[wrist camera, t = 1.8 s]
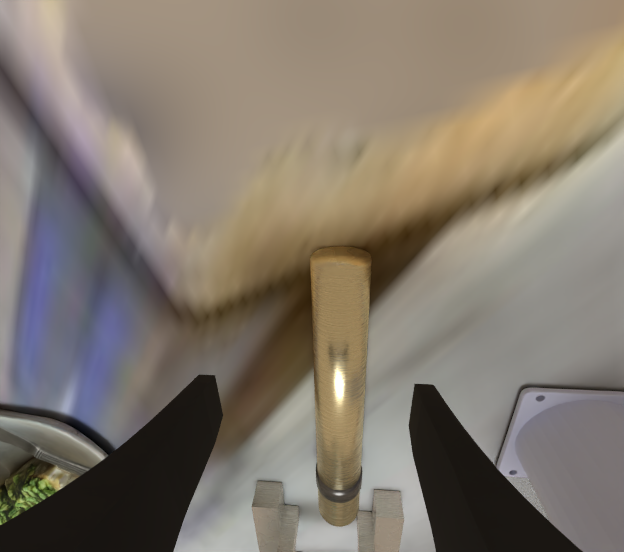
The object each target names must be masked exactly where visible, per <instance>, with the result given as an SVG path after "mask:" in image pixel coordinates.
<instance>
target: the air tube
mask: <svg viewBox="0 0 624 552" xmlns="http://www.w3.org/2000/svg"><path fill="white" fill-rule="evenodd" d="M371 261H372V257H371V255H370V254H369V253H368V252H366V251H364V250H362V249H359V248H354V247H346V246H336V247H327V248H323V249H320V250H317V251H315V252H314V253H313V254H312V255H311V257H310V265H311V294H312V324H313V353H314V383H315V412H316V442H317V464H316V482H317V487H318V500H319V510H320V513H321V515H322V517H323V518H324V519H325V520H326V521H327V522H328V523H329V524H331V525H334V526H346V525H348V524H350V523H351V522H352V521H354V519H355V518H356V516H357V514H358V510H359V494H360V489H361V483H362V466H361V455H362V436H363V416H364V397H365V378H366V358H367V339H368V320H369V300H370V281H371Z"/></svg>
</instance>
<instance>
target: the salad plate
mask: <svg viewBox="0 0 624 552" xmlns="http://www.w3.org/2000/svg"><path fill="white" fill-rule="evenodd" d="M107 456H109V455H108V454H107V453H106V452H104V451H103V450H102V449H101V448H100V447H99V446H98V445H96V444H95V443H94V442H93V441H91V440H90V439H89V438H87V437H86V436H85V435H83V434H82V433H81V432H79V431H78V430H76V429H74V428H73V427H71V426H69V425H67V424H65V423H63V422H60V421H58V420H55V419H52V418H48V417H41V416H35V415H29V414H24V413H18V412H14V411H8V410H4V409H0V525H1V524H3V523H5V522H7V521H9V520H10V519H12V518H14V517H16V516H17V515H19V514H21V513H23V512H24V511H26V510H28V509H29V508H31V507H33V506H34V505H36V504H38V503H39V502H41V501H43V500H44V499H46V498H47V497H49V496H51V495H52V494H54V493H55V492H57V491H59V490H60V489H62V488H63V487H64V486H66V485H67V484H69V483H70V482H72V481H73V480H75V479H76V478H78V477H79V476H81V475H82V474H84V473H85V472H87V471H88V470H90V469H91V468H92V467H94V466H95V465H97V464H98V463H99V462H101V461H102V460H103V459H105V458H106V457H107Z"/></svg>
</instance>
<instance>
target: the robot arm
mask: <svg viewBox="0 0 624 552" xmlns="http://www.w3.org/2000/svg"><path fill="white" fill-rule="evenodd" d="M539 395H540V396H539ZM537 396H538V397H537ZM222 417H223V413H222V408H221V403H220V398H219V393H218V388H217V383H216V378H215V375H198V376H197V377H196V378H195V379H194V380H193V381H192V382H191V383H190V384H189V385H188V386H187V387H186V388H185V389H184V390H183V391H181V392H180V393H179V394H178V395H177V396H176V397H175V398H174V399H173V400H172V401H171V402H170V403H169V404H168V405H167V406H166V407H165V408H164V409H163V410H162V411H160V412H159V413H158V414H157V415H156V416H155V417H154V418H153V419H152V420H151V421H150V422H148V423H147V424H146V425H145V426H144V427H143V428H142V429H140V430H139V431H138V432H137V433H136V434H135V435H133V436H132V437H131V438H130V439H129V440H128V441H126V442H125V443H124V444H123V445H121V446H120V447H119V448H118V449H116V450H115V451H114V452H113V453H111V454H110V455H109V456H107V457H106V458H105V459H103V460H102V461H101V462H99V463H98V464H97V465H95V466H94V467H92V468H91V469H90V470H88V471H87V472H85V473H84V474H82V475H81V476H79V477H78V478H76V479H75V480H73V481H72V482H70V483H69V484H67V485H66V486H64V487H63V488H62V489H60V490H59V491H57V492H55V493H54V494H52V495H51V496H49V497H47V498H46V499H44V500H43V501H41V502H39V503H38V504H36V505H34V506H33V507H31V508H29V509H28V510H26V511H24V512H23V513H21V514H19V515H17V516H16V517H14V518H12V519H10V520H9V521H7V522H5V523H3V524H1V525H0V552H173V551H174V548H175V545H176V541H177V538H178V535H179V532H180V529H181V526H182V523H183V520H184V517H185V515H186V512H187V510H188V507H189V505H190V502H191V500H192V497H193V495H194V493H195V490H196V488H197V485H198V483H199V481H200V478H201V476H202V474H203V471H204V469H205V466H206V464H207V462H208V459H209V457H210V454H211V452H212V449H213V447H214V444H215V442H216V438H217V435H218V432H219V428H220V424H221V421H222ZM409 430H410V438H411V445H412V452H413V457H414V461H415V465H416V469H417V473H418V477H419V481H420V485H421V489H422V493H423V497H424V501H425V505H426V509H427V513H428V517H429V521H430V525H431V529H432V533H433V538H434V543H435V548H436V552H624V392H619V391H596V390H574V389H551V388H526V389H524V390H522V391H521V393H520V396H519V399H518V402H517V405H516V408H515V411H514V414H513V417H512V420H511V423H510V426H509V429H508V432H507V435H506V438H505V441H504V444H503V448H502V451H501V454H500V457H499V460H498V463H497V466H495V465H494V464H493V463H492V462H491V461H490V459H489V458H488V457H487V456H486V455H485V454H484V452H483V451H482V450H481V449H480V448H479V446H478V445H477V444H476V443H475V441H474V440H473V439H472V438H471V436H470V435H469V434H468V432H467V431H466V430H465V429H464V427H463V426H462V425H461V423H460V422H459V421H458V419H457V418H456V416H455V415H454V414H453V412H452V411H451V410H450V408H449V407H448V405H447V404H446V402H445V401H444V399H443V398H442V397H441V395H440V394H439V392H438V391H437V389H436V387H435V386H434V385H429V384H415V386H414V393H413V400H412V407H411V414H410V421H409ZM505 476H507V477H522V478H528V479H529V481H530V483H531V485H532V487H533V489H534V491H535V493H536V495H537V497H538V499H539V501H540V503H541V505H542V507H543V509H544V511H545V513H546V515H547V517H548V519H549V521H550V522H549V521H548V520H547V519H546V518H545V517H544V516H543V515H542V514H541V513H540V512H539V511H538V510H537V509H536V508H535V507H534V506H533V505H532V504H531V503H530V502H529V501H528V500H527V499H526V498H524V496H523V495H522V494H521V493H520V492H519V491H518V490H517V489H516V488H515V487H514V486H513V485H512V484H511V483H510V482H509V481H508V480H507V479H506V478H505Z"/></svg>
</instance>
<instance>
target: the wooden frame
mask: <svg viewBox="0 0 624 552" xmlns="http://www.w3.org/2000/svg"><path fill="white" fill-rule="evenodd" d="M252 511H253V517H254V523H255V528H256V534H257V540H258V545H259V551H260V552H295V547H296V539H297V530H298V521H299V509H298V506H292V505H284V497H283V487H282V483H279V482H265V481H258V483H257V487H256V491H255V495H254V499H253V504H252ZM403 523H404V515H403V508H402V501H401V495H400V491H387V490H374V499H373V510H372V512H366V511H358V515H357V533H358V552H399V547H400V541H401V535H402V529H403Z"/></svg>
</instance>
